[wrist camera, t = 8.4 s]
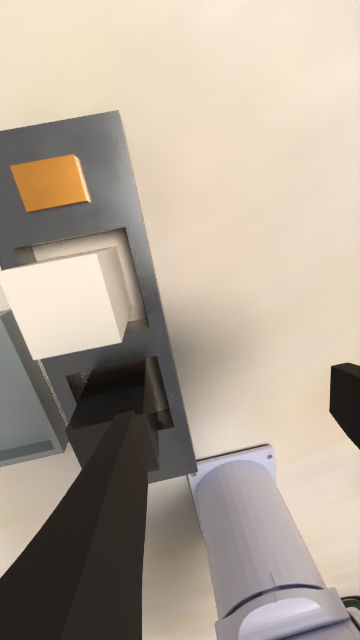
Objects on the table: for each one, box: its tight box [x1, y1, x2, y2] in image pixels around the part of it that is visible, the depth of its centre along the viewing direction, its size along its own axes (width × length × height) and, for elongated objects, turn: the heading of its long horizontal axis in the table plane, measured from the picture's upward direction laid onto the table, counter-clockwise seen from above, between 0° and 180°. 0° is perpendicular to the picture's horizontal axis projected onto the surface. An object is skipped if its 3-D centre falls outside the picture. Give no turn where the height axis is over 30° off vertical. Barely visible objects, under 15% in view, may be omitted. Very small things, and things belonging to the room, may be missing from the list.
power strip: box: [0, 110, 198, 484], centre depth 15 cm, size 24×8×6 cm, turn 11°
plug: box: [0, 246, 132, 360], centre depth 13 cm, size 4×4×6 cm
